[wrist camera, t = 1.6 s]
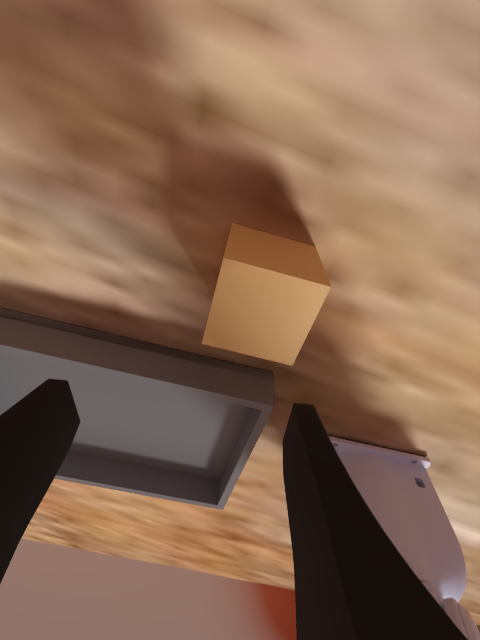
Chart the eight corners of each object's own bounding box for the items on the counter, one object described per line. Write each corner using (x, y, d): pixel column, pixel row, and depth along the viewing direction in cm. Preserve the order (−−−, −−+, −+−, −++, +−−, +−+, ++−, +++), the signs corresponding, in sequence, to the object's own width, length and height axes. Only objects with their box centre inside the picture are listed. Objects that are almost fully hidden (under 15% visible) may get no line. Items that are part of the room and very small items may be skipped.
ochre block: (315, 245, 17) (331, 286, 13) (286, 314, 19) (292, 365, 16) (232, 222, 16) (223, 257, 13) (213, 296, 19) (201, 343, 15)
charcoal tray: (272, 372, 22) (274, 406, 20) (225, 476, 30) (222, 509, 27) (-30, 300, 20) (-71, 328, 17) (4, 432, 28) (-21, 464, 25)
